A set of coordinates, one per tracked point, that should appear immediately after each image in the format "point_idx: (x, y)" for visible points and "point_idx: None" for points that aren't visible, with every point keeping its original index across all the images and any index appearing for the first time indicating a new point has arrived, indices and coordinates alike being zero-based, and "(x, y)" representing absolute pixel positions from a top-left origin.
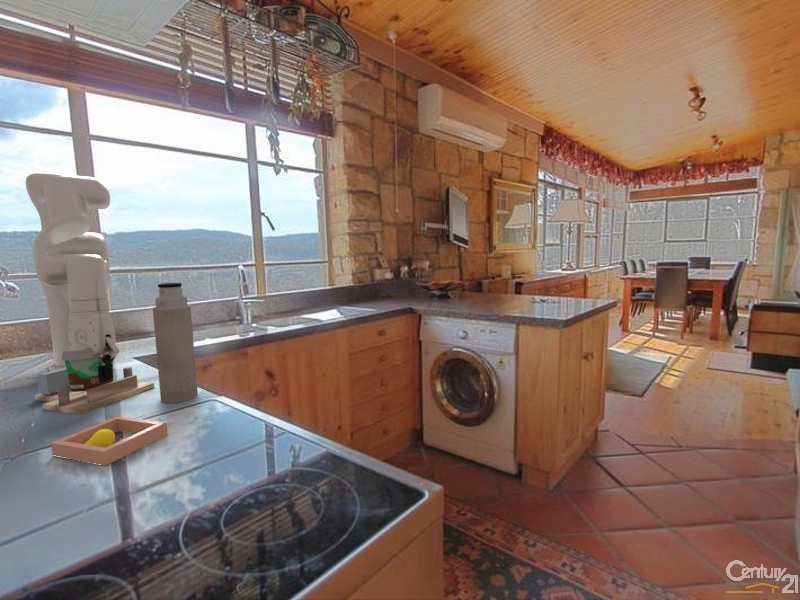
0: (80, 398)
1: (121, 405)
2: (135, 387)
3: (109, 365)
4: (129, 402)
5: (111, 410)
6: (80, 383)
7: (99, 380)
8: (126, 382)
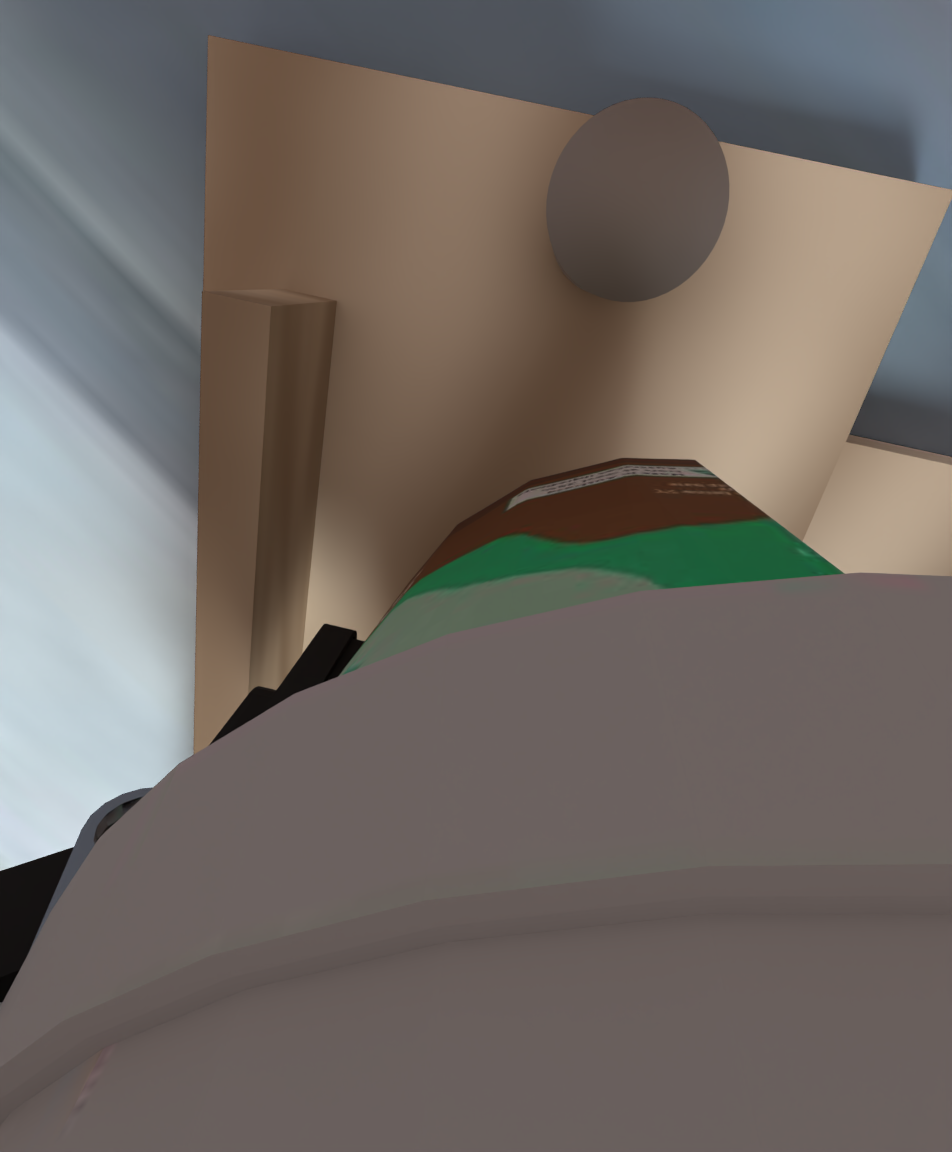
0: (566, 444)
1: (60, 389)
2: None
3: None
4: (66, 477)
5: (14, 231)
6: (534, 500)
7: (345, 634)
8: None
